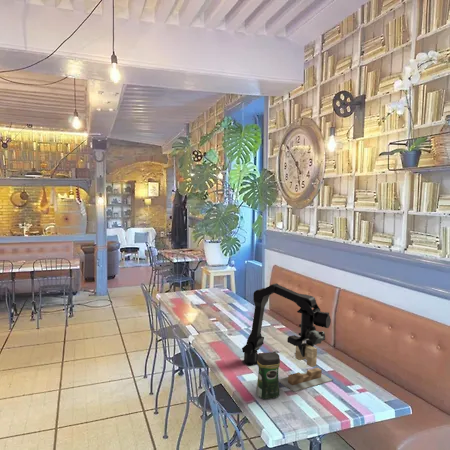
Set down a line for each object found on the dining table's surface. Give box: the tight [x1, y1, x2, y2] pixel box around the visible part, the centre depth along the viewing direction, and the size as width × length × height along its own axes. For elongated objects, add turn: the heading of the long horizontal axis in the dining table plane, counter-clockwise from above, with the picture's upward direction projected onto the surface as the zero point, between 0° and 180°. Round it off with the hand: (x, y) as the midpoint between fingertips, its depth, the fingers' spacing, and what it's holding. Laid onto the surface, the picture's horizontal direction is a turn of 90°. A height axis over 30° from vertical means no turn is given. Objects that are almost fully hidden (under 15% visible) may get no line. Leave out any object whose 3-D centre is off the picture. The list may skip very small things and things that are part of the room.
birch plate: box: [294, 342, 318, 368], centre depth 174 cm, size 3×11×8 cm, turn 30°
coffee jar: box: [255, 351, 281, 400], centre depth 160 cm, size 10×8×19 cm
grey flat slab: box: [278, 367, 334, 393], centre depth 175 cm, size 24×12×4 cm, turn 120°
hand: (305, 356), depth 174 cm, fingers closed on birch plate, 3 cm apart
